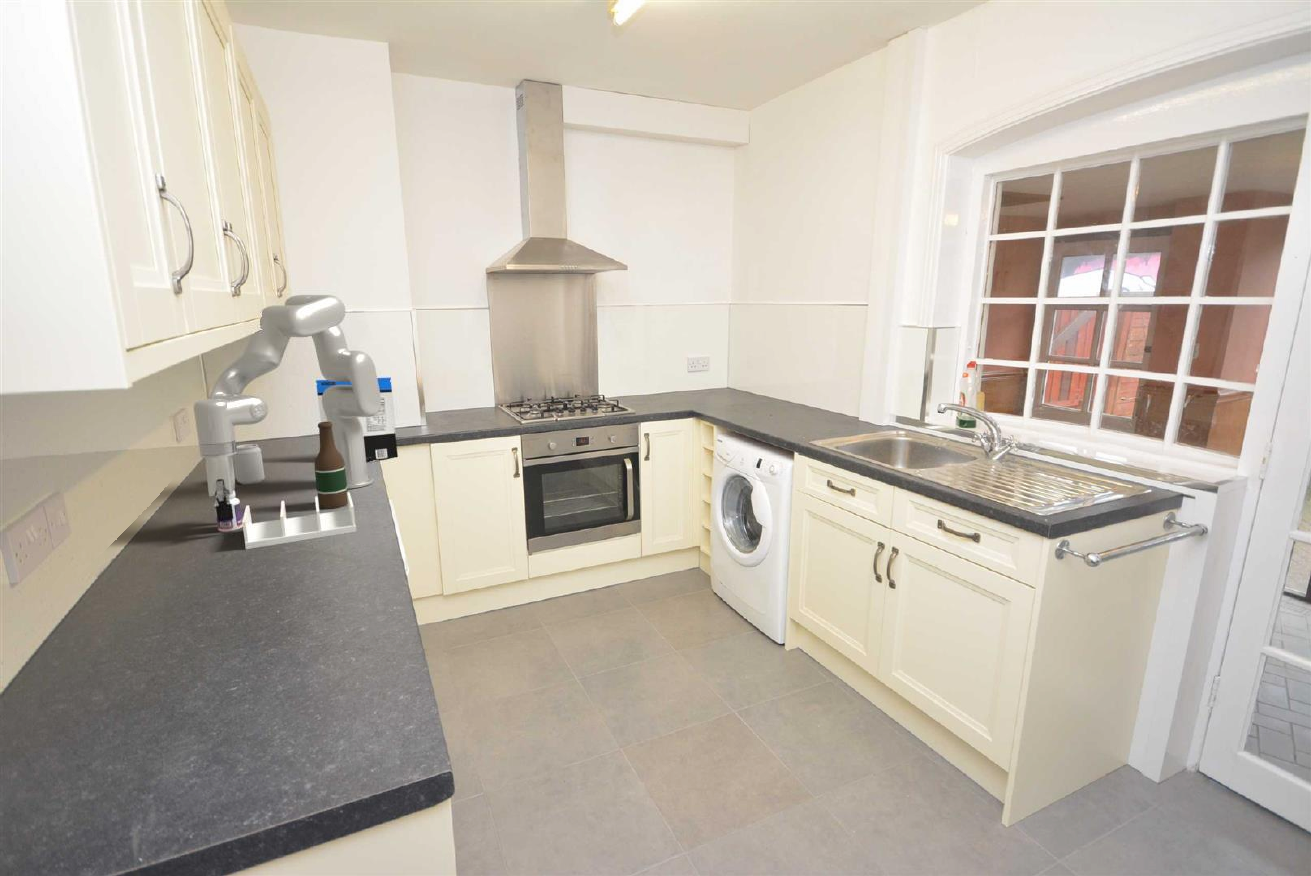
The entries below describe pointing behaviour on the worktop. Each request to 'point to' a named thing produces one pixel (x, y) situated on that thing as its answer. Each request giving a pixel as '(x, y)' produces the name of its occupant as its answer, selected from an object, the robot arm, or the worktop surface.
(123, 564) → the worktop surface
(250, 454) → the can
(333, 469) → the beer bottle
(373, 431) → the protein powder
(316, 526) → the shelf rack
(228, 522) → the pill bottle
